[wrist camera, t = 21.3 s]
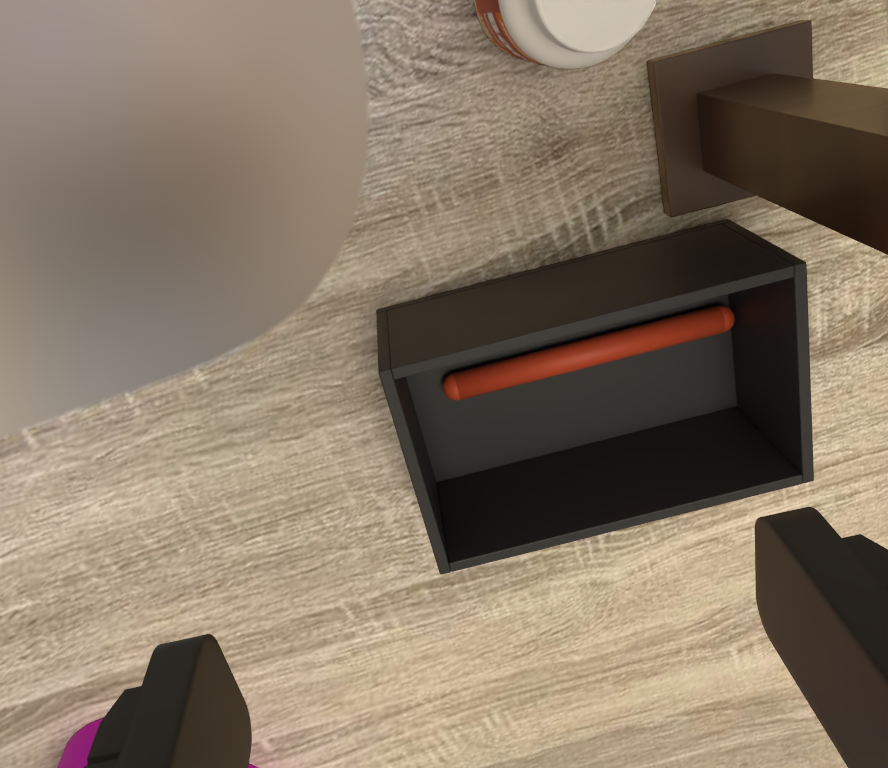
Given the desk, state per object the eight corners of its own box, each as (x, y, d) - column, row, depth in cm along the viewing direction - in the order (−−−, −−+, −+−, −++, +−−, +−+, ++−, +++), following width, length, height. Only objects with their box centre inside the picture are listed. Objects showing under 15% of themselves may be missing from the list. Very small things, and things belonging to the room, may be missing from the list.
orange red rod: (446, 402, 45) (446, 404, 44) (439, 376, 45) (439, 376, 44) (731, 330, 45) (741, 328, 44) (724, 303, 45) (734, 300, 44)
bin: (428, 487, 49) (440, 575, 41) (375, 309, 44) (378, 372, 36) (742, 407, 49) (814, 481, 41) (728, 218, 43) (807, 261, 36)
